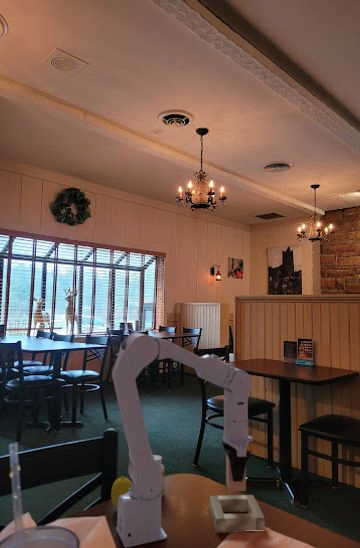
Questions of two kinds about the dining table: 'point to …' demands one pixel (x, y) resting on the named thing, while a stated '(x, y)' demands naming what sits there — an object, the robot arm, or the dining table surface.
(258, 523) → the collar
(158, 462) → the supplement bottle
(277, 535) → the dining table surface
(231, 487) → the peg
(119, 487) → the lemon
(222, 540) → the dining table surface
